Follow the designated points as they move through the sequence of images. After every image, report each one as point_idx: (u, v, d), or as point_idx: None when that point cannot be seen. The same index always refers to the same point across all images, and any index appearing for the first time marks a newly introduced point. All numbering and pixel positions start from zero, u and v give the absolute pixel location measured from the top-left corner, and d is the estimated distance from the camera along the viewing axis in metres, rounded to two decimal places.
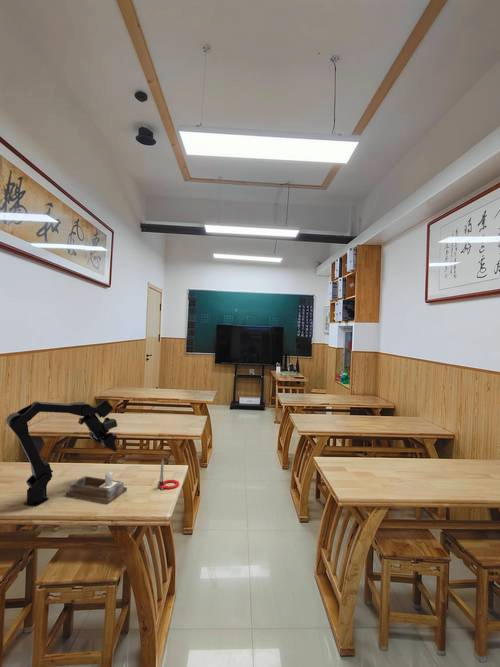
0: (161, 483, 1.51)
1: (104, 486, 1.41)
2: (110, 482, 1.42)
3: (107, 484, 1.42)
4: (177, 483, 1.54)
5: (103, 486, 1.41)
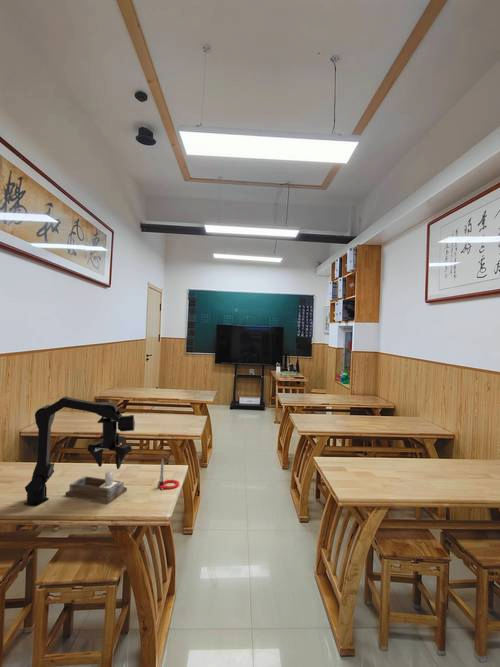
0: (161, 483, 1.51)
1: (104, 486, 1.41)
2: (110, 482, 1.42)
3: (107, 484, 1.42)
4: (177, 483, 1.54)
5: (103, 486, 1.41)
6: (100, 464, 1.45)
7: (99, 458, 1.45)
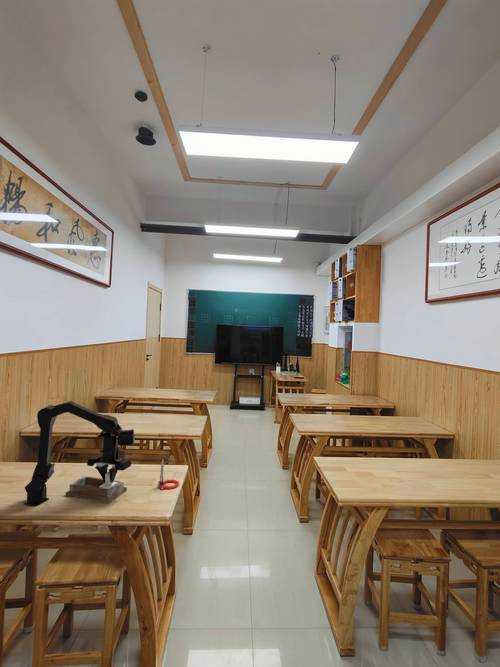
0: (161, 483, 1.51)
1: (104, 486, 1.41)
2: (110, 482, 1.42)
3: (107, 484, 1.42)
4: (177, 483, 1.54)
5: (103, 486, 1.41)
6: None
7: (104, 473, 1.44)
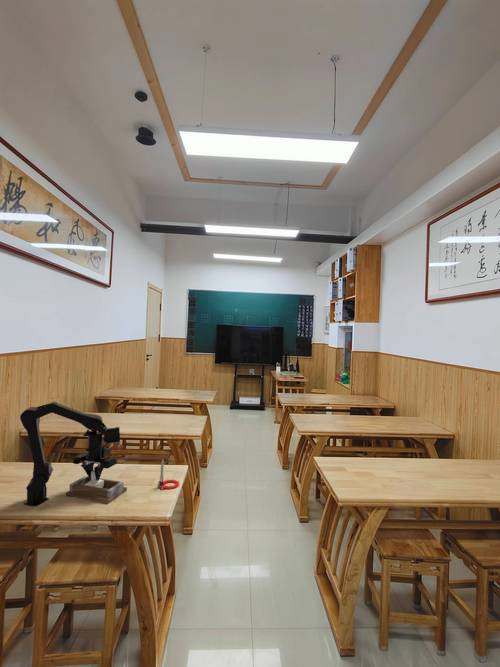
0: (161, 483, 1.51)
1: (90, 484, 1.43)
2: None
3: (93, 482, 1.44)
4: (177, 483, 1.54)
5: (89, 484, 1.43)
6: None
7: (90, 471, 1.46)
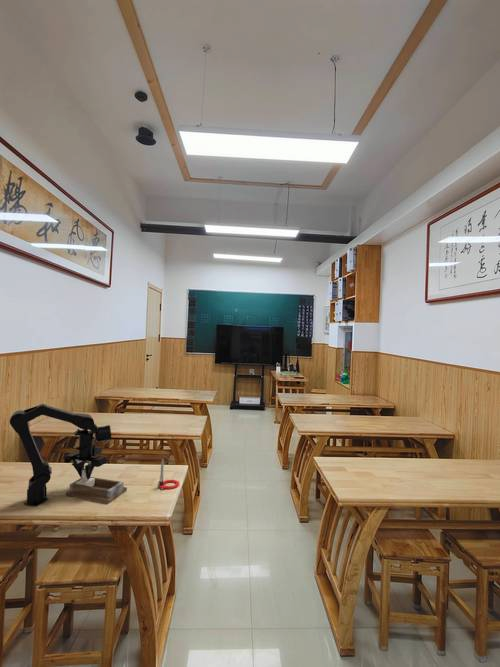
0: (161, 483, 1.51)
1: (80, 482, 1.45)
2: (86, 478, 1.46)
3: (83, 480, 1.45)
4: (177, 483, 1.54)
5: (79, 482, 1.45)
6: None
7: (81, 470, 1.47)
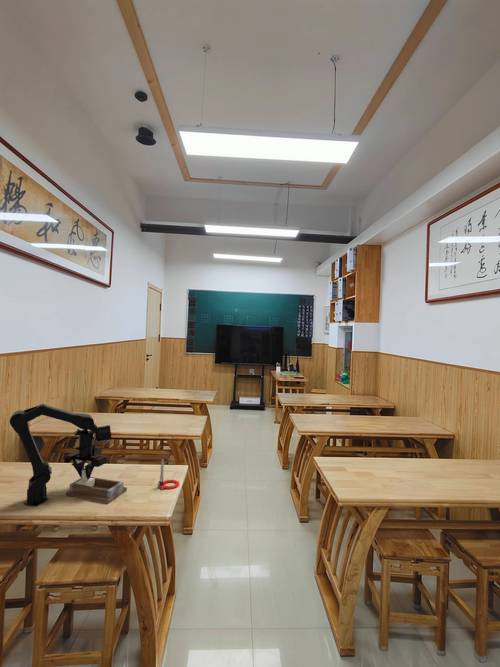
0: (161, 483, 1.51)
1: (80, 482, 1.45)
2: (86, 478, 1.46)
3: (83, 480, 1.45)
4: (177, 483, 1.54)
5: (79, 482, 1.45)
6: None
7: (81, 470, 1.47)
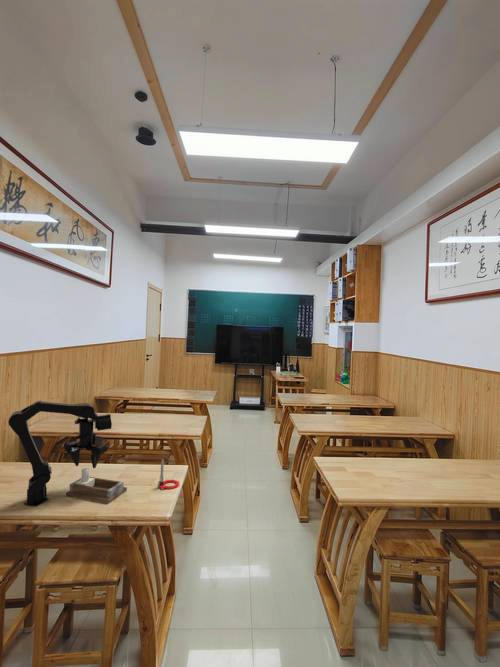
0: (161, 483, 1.51)
1: (80, 482, 1.45)
2: (86, 478, 1.46)
3: (83, 480, 1.45)
4: (177, 483, 1.54)
5: (79, 482, 1.45)
6: (77, 463, 1.48)
7: (76, 457, 1.48)
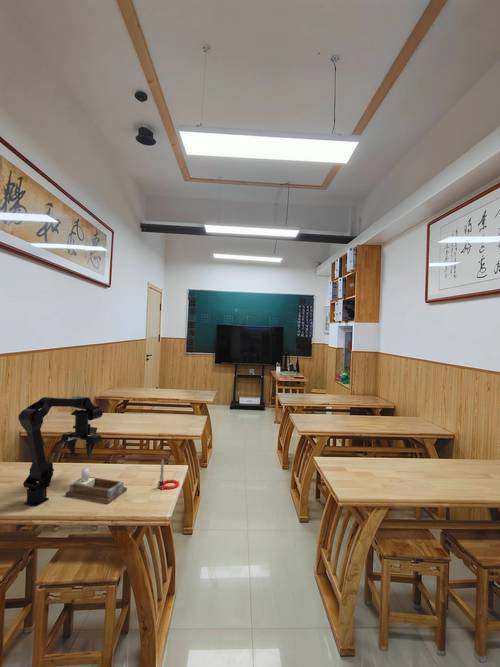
0: (161, 483, 1.51)
1: (80, 482, 1.45)
2: (86, 478, 1.46)
3: (83, 480, 1.45)
4: (177, 483, 1.54)
5: (79, 482, 1.45)
6: (73, 452, 1.59)
7: (72, 446, 1.59)
